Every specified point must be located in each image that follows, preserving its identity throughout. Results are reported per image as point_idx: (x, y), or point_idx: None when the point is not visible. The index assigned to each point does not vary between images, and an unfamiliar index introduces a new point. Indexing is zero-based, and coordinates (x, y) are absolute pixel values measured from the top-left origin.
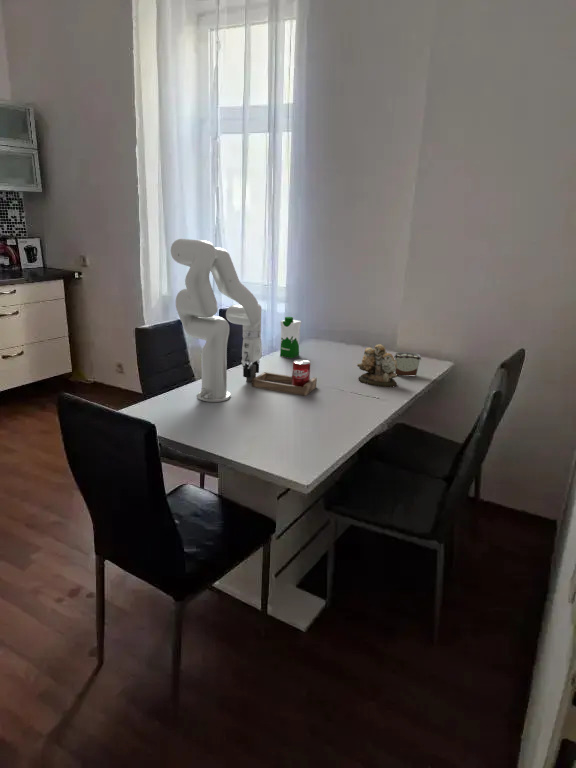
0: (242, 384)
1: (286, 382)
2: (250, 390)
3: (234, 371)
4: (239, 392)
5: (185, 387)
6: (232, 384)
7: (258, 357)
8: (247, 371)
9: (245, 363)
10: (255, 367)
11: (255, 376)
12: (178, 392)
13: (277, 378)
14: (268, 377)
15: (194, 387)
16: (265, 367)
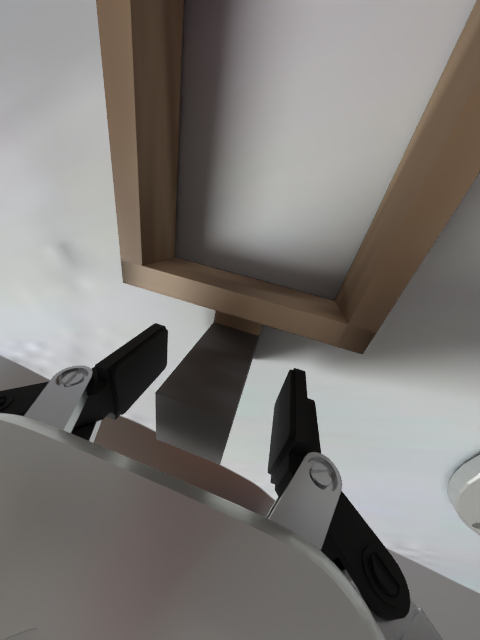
0: None
1: (180, 1)
2: (428, 321)
3: None
4: (477, 383)
5: None
6: None
7: (49, 512)
8: (316, 435)
9: (411, 630)
10: (181, 379)
11: (213, 331)
12: (441, 563)
13: (161, 135)
14: (163, 237)
15: (369, 522)
16: (4, 299)
